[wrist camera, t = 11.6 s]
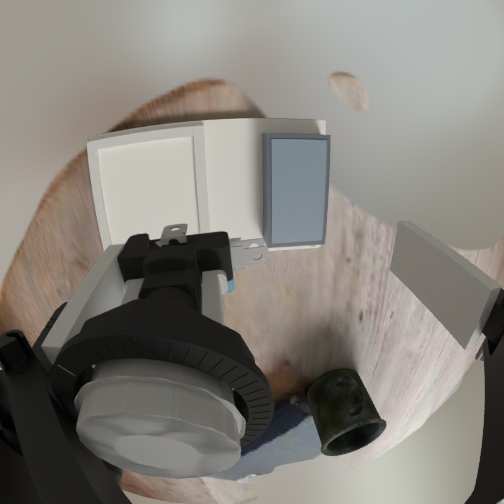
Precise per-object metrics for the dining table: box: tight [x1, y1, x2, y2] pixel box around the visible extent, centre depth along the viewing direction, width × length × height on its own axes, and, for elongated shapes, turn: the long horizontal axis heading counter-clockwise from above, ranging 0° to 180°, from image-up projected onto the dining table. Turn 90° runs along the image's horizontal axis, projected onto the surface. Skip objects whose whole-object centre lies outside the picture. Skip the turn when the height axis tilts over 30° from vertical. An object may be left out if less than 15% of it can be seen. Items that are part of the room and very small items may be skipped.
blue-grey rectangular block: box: [262, 133, 330, 248], centre depth 27 cm, size 6×11×3 cm, turn 1°
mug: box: [307, 369, 386, 456], centre depth 38 cm, size 11×15×12 cm
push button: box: [51, 223, 274, 479], centre depth 9 cm, size 7×5×10 cm
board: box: [87, 118, 326, 251], centre depth 27 cm, size 24×14×1 cm, turn 91°
